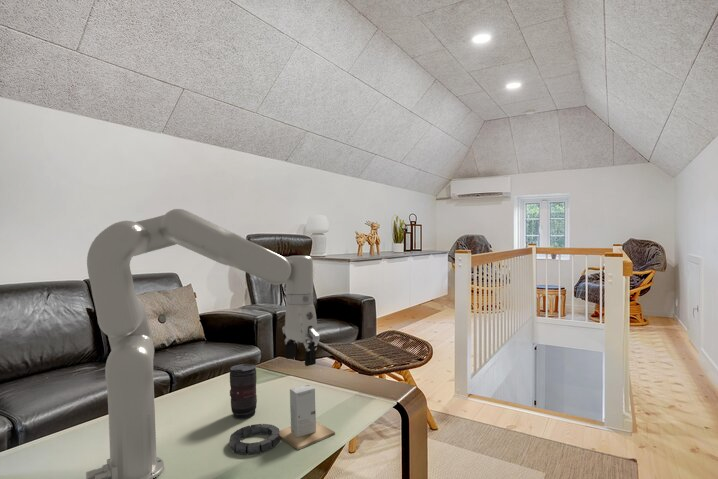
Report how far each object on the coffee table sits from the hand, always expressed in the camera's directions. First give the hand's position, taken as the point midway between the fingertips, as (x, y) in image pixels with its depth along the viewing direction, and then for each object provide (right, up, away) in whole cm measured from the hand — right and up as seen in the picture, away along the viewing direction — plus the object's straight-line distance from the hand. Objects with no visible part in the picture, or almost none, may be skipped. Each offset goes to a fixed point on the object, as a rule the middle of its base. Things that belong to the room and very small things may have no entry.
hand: (300, 361), depth 113 cm
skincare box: (+1, -20, 0) cm, 20 cm away
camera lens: (-20, -22, +15) cm, 33 cm away
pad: (+1, -20, 0) cm, 20 cm away
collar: (-12, -21, -3) cm, 24 cm away
